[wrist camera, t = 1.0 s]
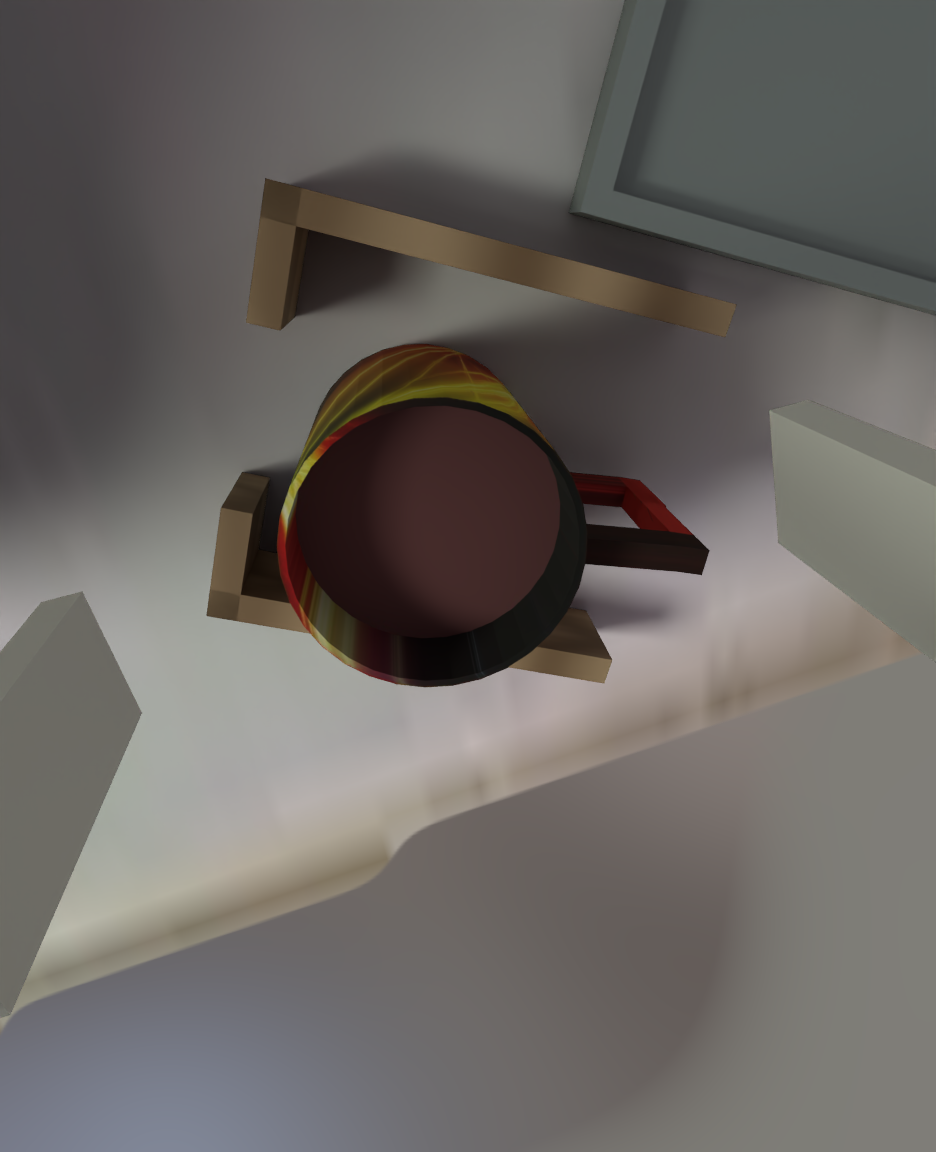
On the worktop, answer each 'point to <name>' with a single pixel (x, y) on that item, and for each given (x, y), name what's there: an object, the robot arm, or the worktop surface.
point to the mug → (448, 523)
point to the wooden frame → (288, 212)
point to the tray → (775, 137)
